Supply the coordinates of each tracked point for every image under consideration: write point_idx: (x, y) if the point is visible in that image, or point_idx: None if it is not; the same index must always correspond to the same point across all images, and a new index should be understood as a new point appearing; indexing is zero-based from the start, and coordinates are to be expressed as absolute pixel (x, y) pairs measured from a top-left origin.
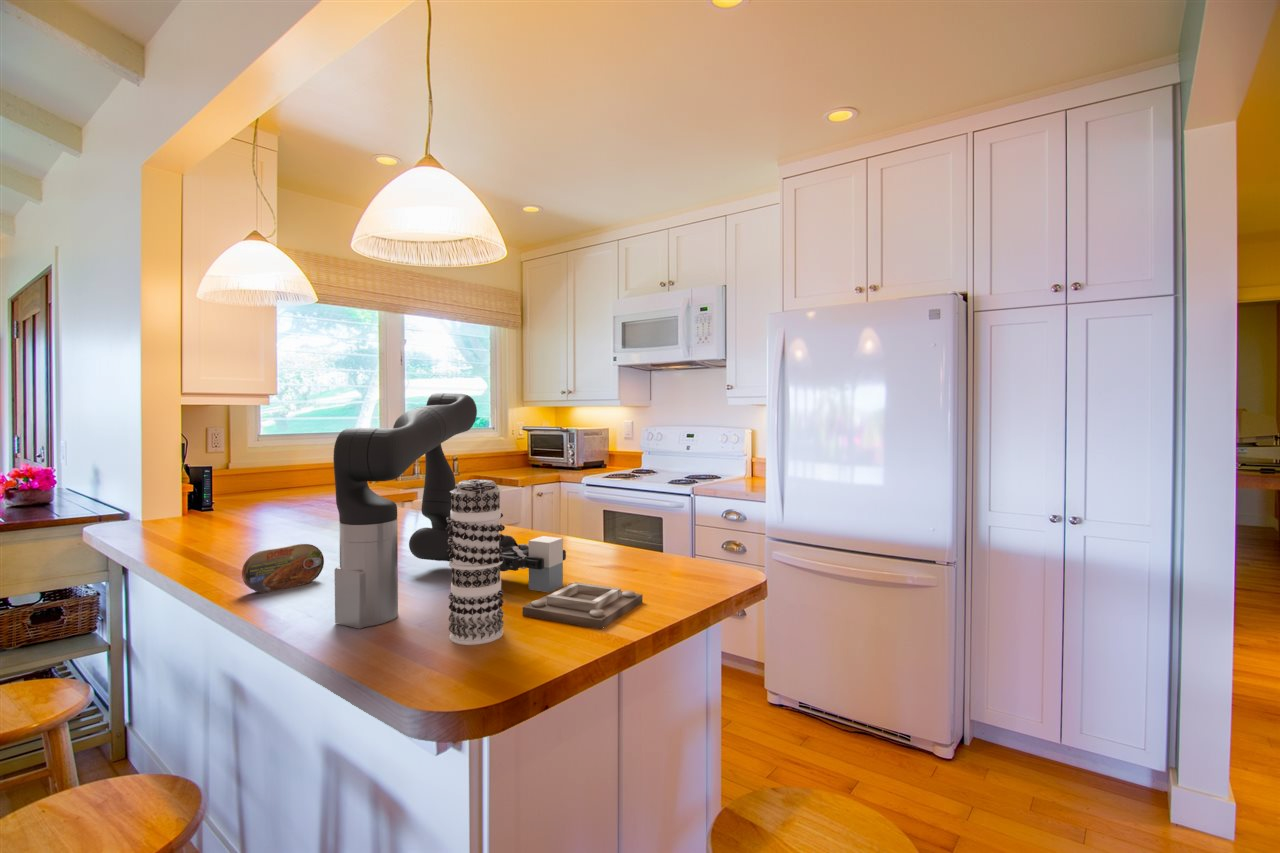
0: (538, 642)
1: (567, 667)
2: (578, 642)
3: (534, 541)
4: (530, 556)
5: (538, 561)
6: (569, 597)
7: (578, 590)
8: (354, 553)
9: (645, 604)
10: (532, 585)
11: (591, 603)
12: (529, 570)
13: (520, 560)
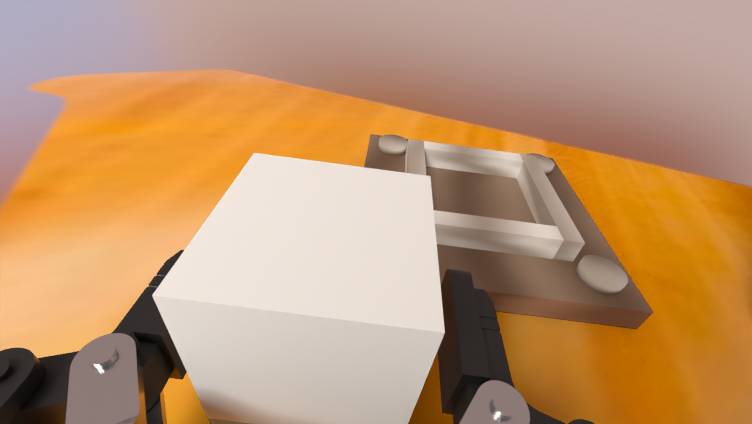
0: (688, 231)
1: (689, 177)
2: (618, 185)
3: (438, 270)
4: (463, 354)
5: (479, 290)
6: (543, 197)
7: None
8: None
9: None
10: None
11: (536, 160)
12: None
13: (543, 415)
